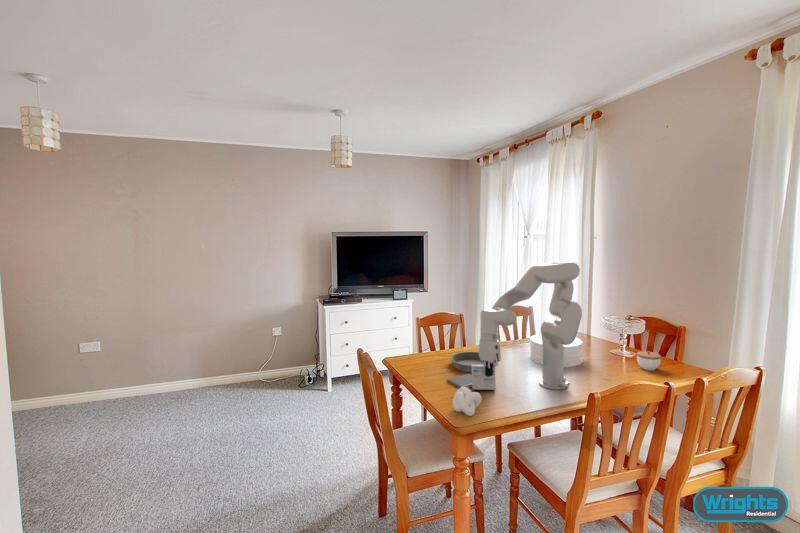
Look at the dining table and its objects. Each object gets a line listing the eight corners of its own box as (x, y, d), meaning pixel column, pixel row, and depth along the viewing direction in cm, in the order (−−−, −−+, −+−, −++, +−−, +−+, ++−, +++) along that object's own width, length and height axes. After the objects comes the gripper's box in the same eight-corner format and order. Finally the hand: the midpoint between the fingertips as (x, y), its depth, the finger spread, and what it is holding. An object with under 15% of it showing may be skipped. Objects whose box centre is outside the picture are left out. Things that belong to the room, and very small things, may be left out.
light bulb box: (494, 387, 181) (493, 364, 182) (496, 390, 174) (495, 366, 176) (471, 387, 182) (470, 364, 184) (472, 389, 175) (472, 365, 177)
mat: (484, 383, 186) (484, 380, 186) (462, 389, 179) (462, 386, 179) (468, 375, 197) (468, 373, 197) (447, 381, 190) (447, 378, 190)
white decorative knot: (476, 404, 164) (476, 383, 163) (486, 416, 152) (486, 395, 151) (450, 406, 162) (450, 386, 161) (459, 419, 150) (459, 397, 150)
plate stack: (549, 349, 240) (549, 331, 239) (592, 360, 216) (592, 340, 215) (520, 357, 224) (520, 338, 223) (562, 371, 201) (563, 349, 200)
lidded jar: (636, 363, 208) (636, 347, 208) (659, 367, 203) (660, 349, 202) (636, 370, 199) (636, 352, 198) (661, 373, 194) (661, 355, 193)
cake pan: (480, 377, 195) (480, 368, 194) (442, 366, 212) (441, 359, 211) (503, 365, 212) (503, 357, 212) (466, 356, 229) (466, 348, 229)
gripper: (507, 338, 168) (507, 379, 169) (483, 331, 181) (483, 369, 182) (494, 341, 164) (494, 382, 166) (471, 334, 177) (471, 372, 179)
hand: (488, 375), depth 174 cm, fingers closed
